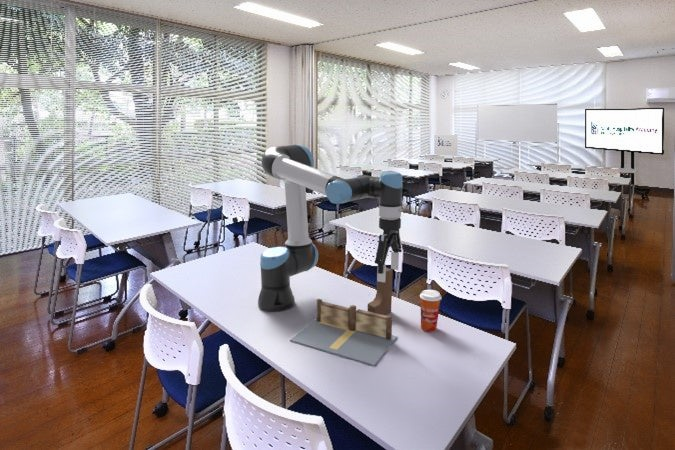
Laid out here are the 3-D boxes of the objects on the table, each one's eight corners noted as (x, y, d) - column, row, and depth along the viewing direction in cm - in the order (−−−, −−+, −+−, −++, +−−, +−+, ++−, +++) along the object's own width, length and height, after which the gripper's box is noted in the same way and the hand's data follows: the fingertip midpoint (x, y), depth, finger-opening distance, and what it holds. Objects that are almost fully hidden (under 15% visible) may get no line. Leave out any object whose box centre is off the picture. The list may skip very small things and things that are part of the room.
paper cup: (416, 331, 151) (418, 295, 148) (420, 321, 158) (422, 287, 155) (437, 335, 148) (440, 299, 145) (441, 325, 155) (443, 291, 152)
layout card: (289, 341, 144) (289, 339, 144) (319, 317, 161) (319, 316, 161) (374, 366, 130) (374, 364, 130) (396, 337, 147) (396, 336, 147)
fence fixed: (315, 321, 157) (315, 299, 155) (319, 318, 159) (318, 297, 157) (354, 331, 150) (354, 308, 148) (357, 328, 152) (357, 306, 150)
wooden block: (374, 318, 161) (375, 274, 157) (367, 313, 165) (367, 271, 160) (391, 312, 166) (393, 269, 162) (384, 308, 170) (385, 266, 165)
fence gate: (355, 330, 150) (355, 310, 148) (357, 328, 152) (357, 308, 150) (390, 339, 144) (391, 318, 142) (392, 337, 145) (393, 316, 143)
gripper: (387, 226, 131) (385, 289, 136) (411, 211, 152) (408, 266, 157) (365, 223, 134) (364, 285, 139) (392, 209, 155) (390, 263, 161)
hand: (388, 275), depth 148 cm, fingers open, 13 cm apart
